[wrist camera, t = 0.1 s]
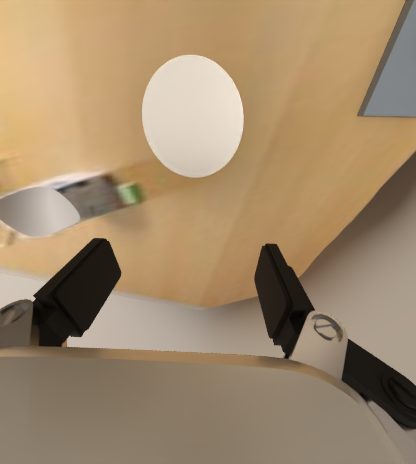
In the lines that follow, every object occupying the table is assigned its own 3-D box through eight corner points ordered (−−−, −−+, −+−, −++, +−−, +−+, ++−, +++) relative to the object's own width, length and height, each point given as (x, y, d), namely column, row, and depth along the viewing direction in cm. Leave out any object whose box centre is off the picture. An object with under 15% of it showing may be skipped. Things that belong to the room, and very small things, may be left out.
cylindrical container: (229, 108, 31) (260, 75, 10) (218, 149, 35) (226, 186, 14) (192, 97, 30) (142, 36, 9) (185, 140, 34) (141, 165, 13)
